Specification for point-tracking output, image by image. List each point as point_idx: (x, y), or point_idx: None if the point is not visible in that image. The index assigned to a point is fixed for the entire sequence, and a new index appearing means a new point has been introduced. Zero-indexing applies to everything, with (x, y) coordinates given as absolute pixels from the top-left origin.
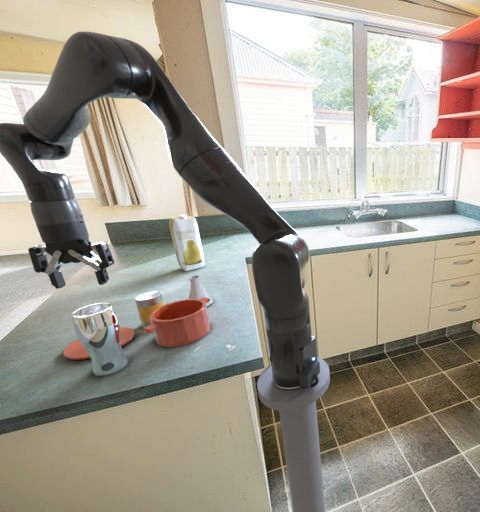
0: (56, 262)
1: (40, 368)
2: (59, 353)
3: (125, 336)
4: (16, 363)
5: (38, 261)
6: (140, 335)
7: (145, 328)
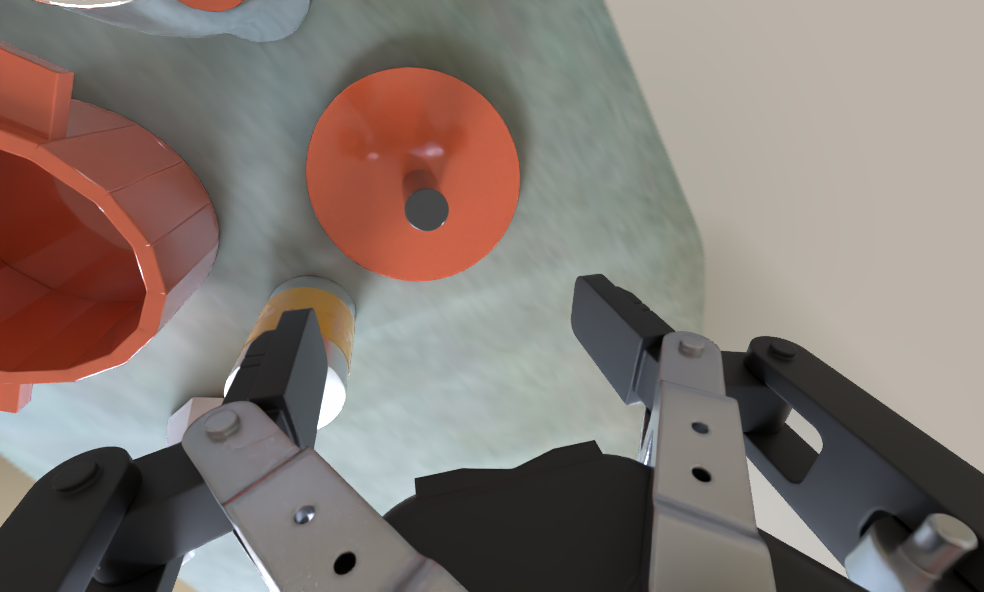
0: (661, 432)
1: (539, 57)
2: (533, 154)
3: (342, 207)
4: (629, 118)
5: (850, 429)
6: (310, 230)
7: (33, 66)
